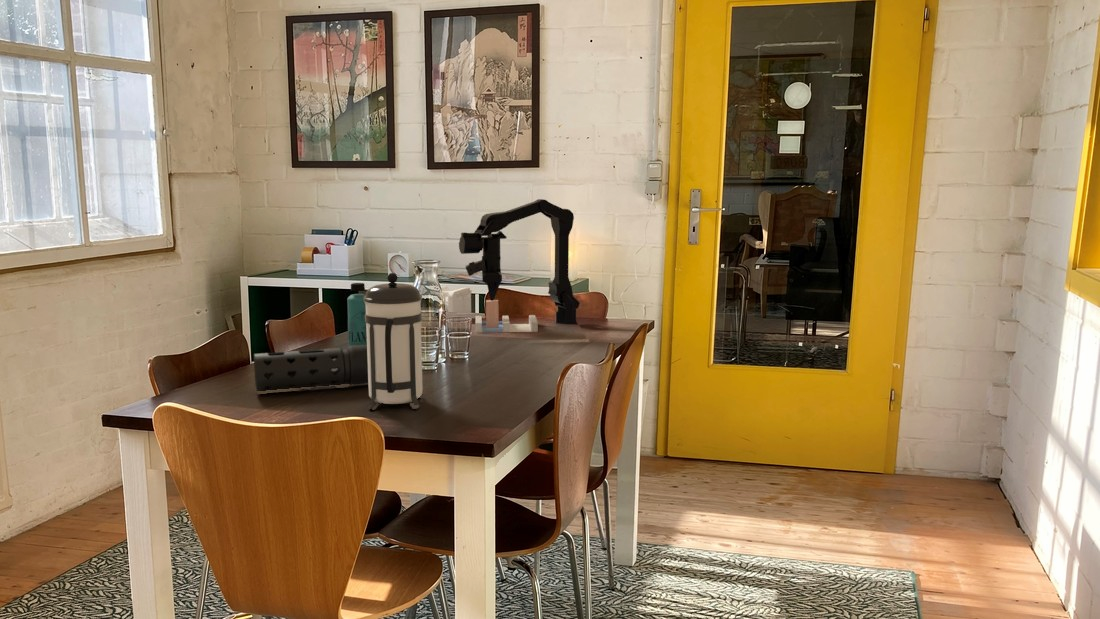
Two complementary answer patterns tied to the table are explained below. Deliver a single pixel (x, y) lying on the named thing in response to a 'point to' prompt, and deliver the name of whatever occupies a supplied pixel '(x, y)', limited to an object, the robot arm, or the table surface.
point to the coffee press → (394, 342)
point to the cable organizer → (457, 300)
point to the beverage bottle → (357, 316)
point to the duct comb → (507, 325)
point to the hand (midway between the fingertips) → (492, 300)
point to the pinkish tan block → (492, 314)
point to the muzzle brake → (311, 368)
